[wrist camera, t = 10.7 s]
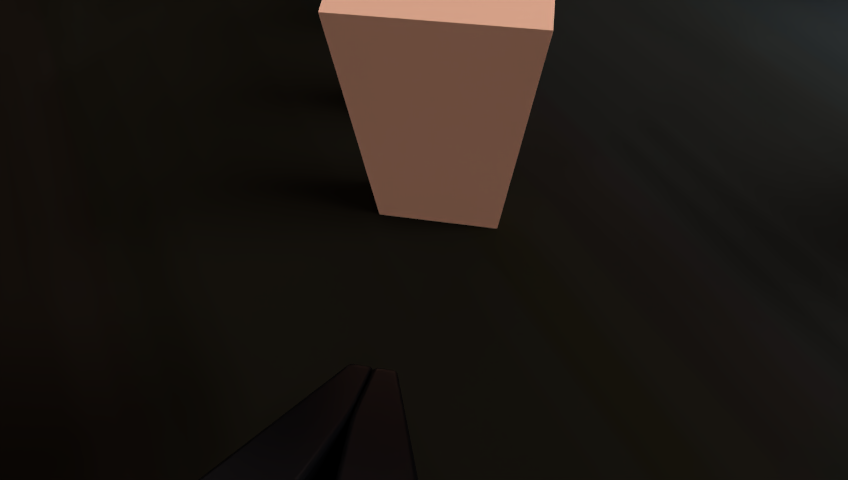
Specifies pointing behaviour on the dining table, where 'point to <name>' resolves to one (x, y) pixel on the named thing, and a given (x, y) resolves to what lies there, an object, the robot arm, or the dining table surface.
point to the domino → (439, 98)
